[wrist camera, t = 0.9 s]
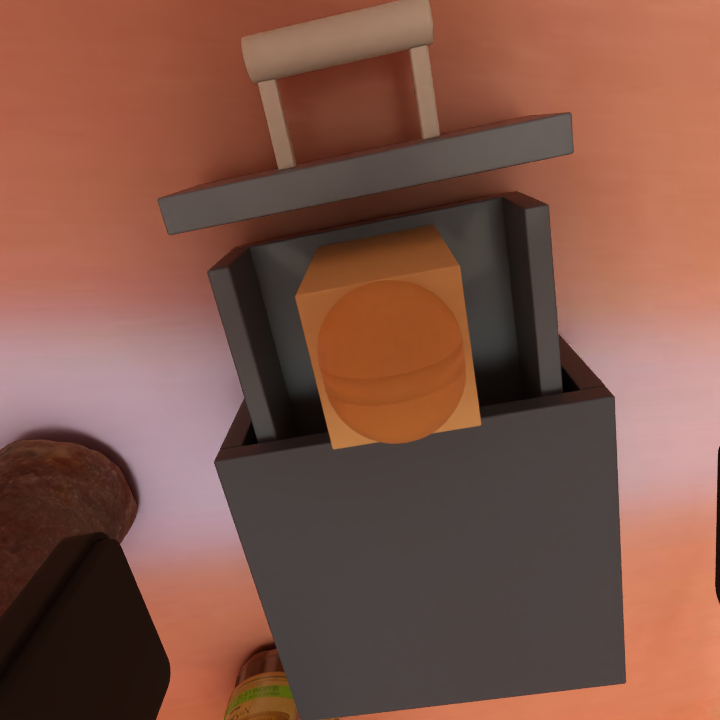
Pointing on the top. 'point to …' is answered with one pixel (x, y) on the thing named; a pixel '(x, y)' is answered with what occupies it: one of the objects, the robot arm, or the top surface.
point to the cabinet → (439, 555)
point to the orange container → (389, 338)
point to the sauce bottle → (262, 691)
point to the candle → (54, 505)
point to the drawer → (379, 224)
